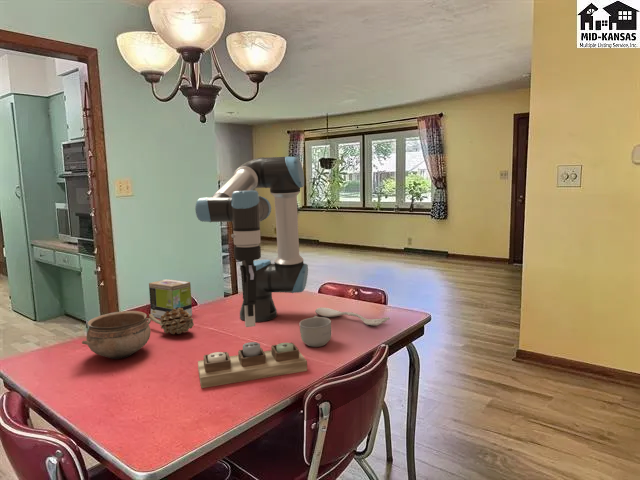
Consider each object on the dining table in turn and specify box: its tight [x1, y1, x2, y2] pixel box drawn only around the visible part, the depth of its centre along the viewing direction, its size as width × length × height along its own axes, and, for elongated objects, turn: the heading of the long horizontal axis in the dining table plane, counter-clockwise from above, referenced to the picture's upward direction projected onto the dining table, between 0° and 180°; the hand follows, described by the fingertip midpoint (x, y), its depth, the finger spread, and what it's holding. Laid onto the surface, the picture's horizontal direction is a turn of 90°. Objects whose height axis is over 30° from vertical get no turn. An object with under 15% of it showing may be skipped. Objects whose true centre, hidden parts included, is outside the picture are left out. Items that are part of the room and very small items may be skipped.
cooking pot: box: [81, 310, 152, 360], centre depth 142 cm, size 25×19×12 cm
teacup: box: [298, 315, 332, 348], centre depth 150 cm, size 14×11×8 cm
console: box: [197, 342, 308, 389], centre depth 128 cm, size 12×30×6 cm, turn 109°
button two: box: [207, 351, 226, 363], centre depth 125 cm, size 5×5×3 cm
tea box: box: [148, 278, 193, 319], centre depth 184 cm, size 15×10×15 cm, turn 58°
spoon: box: [314, 307, 390, 326], centre depth 174 cm, size 9×32×4 cm, turn 52°
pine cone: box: [148, 308, 195, 335], centre depth 163 cm, size 22×10×10 cm, turn 67°
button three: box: [242, 341, 261, 358], centre depth 128 cm, size 5×5×3 cm
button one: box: [276, 342, 293, 353], centre depth 131 cm, size 5×5×3 cm
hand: (250, 325), depth 127 cm, fingers closed
